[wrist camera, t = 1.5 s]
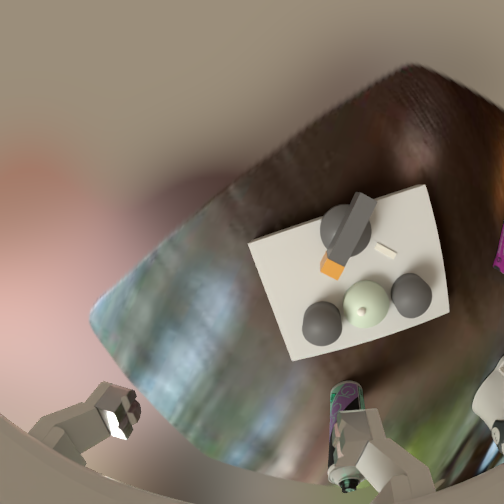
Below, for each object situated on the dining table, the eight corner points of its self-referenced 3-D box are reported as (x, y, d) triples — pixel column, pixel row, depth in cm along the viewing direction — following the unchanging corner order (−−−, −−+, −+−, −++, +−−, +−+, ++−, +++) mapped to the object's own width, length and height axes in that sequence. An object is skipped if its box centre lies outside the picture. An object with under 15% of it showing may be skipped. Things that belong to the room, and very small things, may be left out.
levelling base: (417, 184, 32) (434, 184, 26) (442, 304, 34) (457, 321, 29) (253, 239, 39) (241, 248, 33) (294, 350, 41) (289, 373, 35)
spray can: (342, 375, 40) (345, 477, 21) (368, 387, 40) (381, 484, 21) (324, 397, 42) (317, 495, 23) (349, 407, 41) (351, 502, 22)
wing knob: (338, 184, 31) (342, 183, 26) (382, 207, 31) (394, 211, 25) (305, 251, 34) (303, 263, 29) (348, 273, 34) (353, 288, 28)
